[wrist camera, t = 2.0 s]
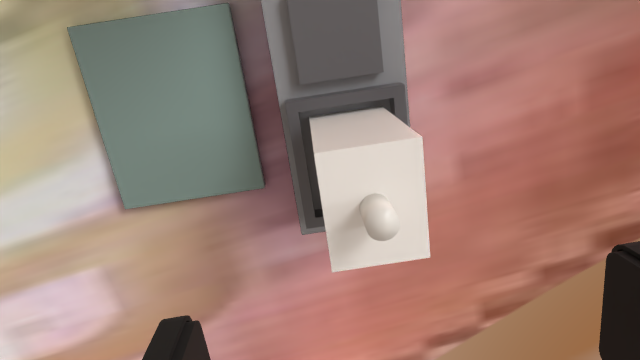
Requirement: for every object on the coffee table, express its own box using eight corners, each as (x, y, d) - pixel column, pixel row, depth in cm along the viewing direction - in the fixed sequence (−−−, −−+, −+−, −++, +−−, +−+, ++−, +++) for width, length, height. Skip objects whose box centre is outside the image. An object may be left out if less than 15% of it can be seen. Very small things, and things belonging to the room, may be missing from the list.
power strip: (382, -70, 23) (399, -94, 19) (404, 199, 28) (422, 225, 24) (255, -51, 23) (246, -71, 19) (301, 215, 28) (301, 244, 24)
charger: (381, 105, 23) (436, 147, 14) (389, 190, 24) (443, 278, 15) (308, 116, 23) (315, 165, 14) (321, 200, 24) (335, 295, 15)
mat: (229, 3, 23) (227, 3, 23) (265, 185, 27) (264, 187, 26) (72, 27, 23) (67, 27, 23) (128, 205, 27) (125, 209, 26)
